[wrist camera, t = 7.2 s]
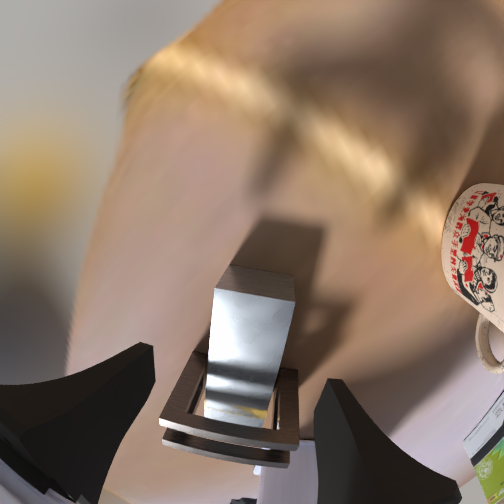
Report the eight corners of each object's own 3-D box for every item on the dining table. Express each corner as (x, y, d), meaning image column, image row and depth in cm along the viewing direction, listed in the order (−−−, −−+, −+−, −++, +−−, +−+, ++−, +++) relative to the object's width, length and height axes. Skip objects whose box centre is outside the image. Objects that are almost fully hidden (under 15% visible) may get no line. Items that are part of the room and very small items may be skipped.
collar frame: (297, 370, 19) (299, 445, 12) (288, 397, 19) (286, 468, 13) (192, 351, 19) (158, 418, 12) (192, 379, 20) (163, 444, 13)
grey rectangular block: (229, 263, 17) (214, 287, 13) (293, 274, 17) (296, 302, 13) (215, 389, 20) (203, 424, 16) (264, 398, 20) (259, 435, 16)
